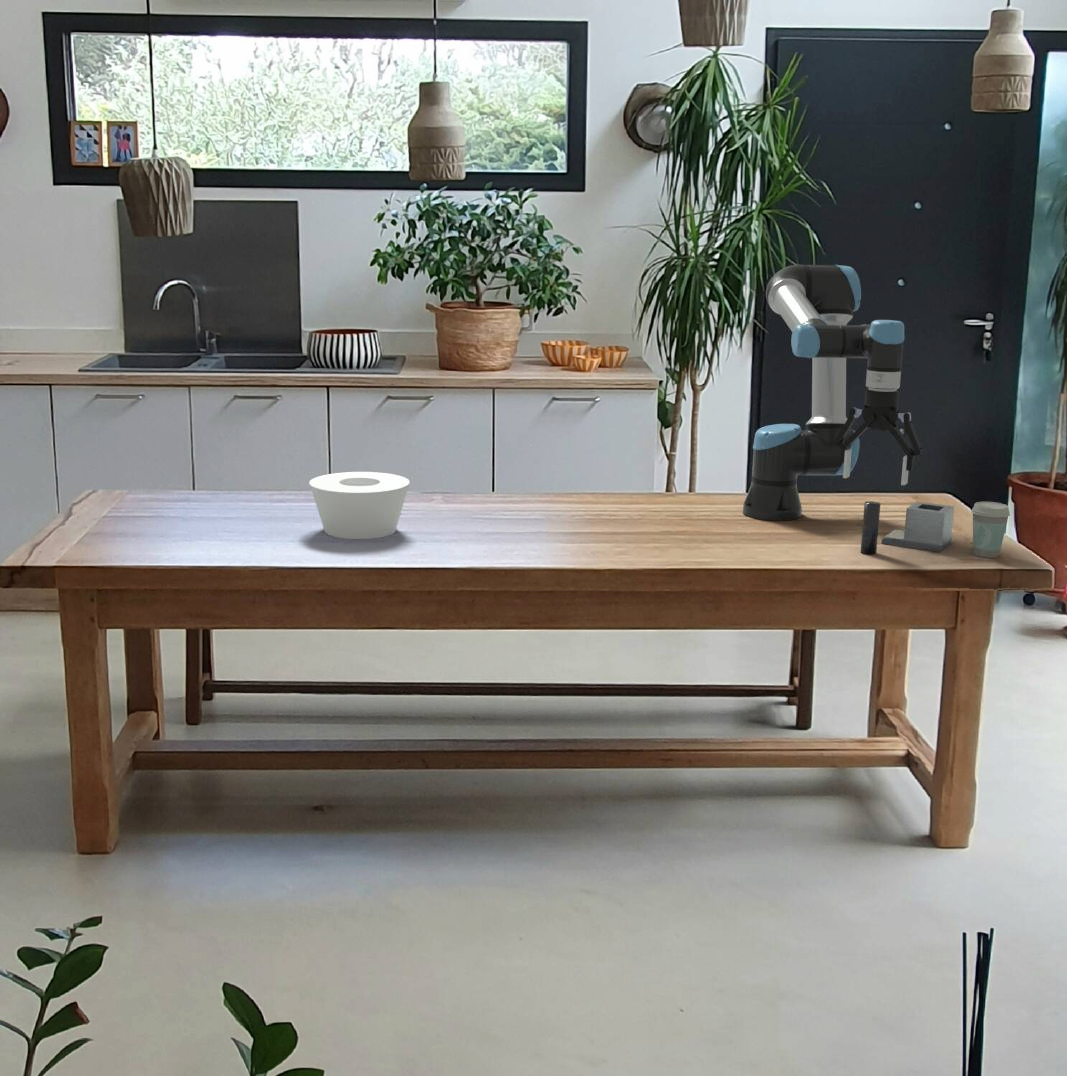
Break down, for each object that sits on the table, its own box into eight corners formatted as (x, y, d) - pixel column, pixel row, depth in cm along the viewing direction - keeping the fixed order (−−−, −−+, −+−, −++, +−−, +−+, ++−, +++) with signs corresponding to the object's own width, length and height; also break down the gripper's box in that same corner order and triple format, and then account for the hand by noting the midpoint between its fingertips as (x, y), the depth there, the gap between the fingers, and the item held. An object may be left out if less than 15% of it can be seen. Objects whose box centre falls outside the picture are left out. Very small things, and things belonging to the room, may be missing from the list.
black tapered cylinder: (858, 553, 315) (862, 503, 312) (863, 550, 318) (867, 500, 315) (873, 555, 313) (877, 505, 310) (878, 552, 316) (882, 502, 313)
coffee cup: (961, 550, 320) (966, 500, 317) (996, 550, 321) (1001, 500, 318) (975, 559, 312) (981, 509, 309) (1011, 559, 313) (1017, 509, 310)
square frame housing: (881, 543, 325) (884, 506, 322) (894, 534, 334) (897, 498, 331) (939, 552, 318) (943, 514, 315) (951, 542, 327) (955, 505, 325)
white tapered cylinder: (428, 526, 332) (428, 479, 329) (372, 547, 311) (372, 497, 308) (348, 514, 343) (348, 468, 340) (289, 533, 322) (288, 484, 319)
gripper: (824, 386, 309) (817, 476, 314) (933, 395, 297) (924, 489, 302) (834, 382, 315) (827, 472, 320) (942, 392, 303) (933, 484, 308)
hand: (874, 480), depth 311 cm, fingers open, 13 cm apart
